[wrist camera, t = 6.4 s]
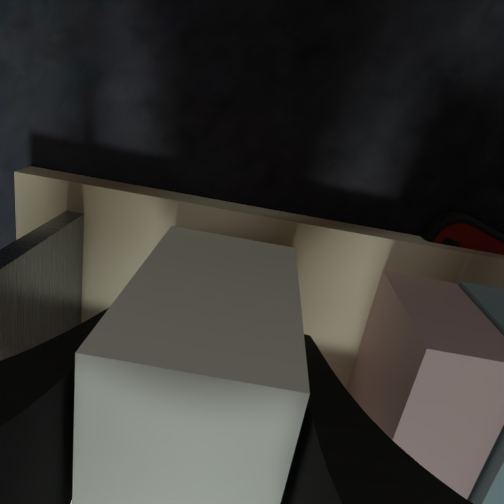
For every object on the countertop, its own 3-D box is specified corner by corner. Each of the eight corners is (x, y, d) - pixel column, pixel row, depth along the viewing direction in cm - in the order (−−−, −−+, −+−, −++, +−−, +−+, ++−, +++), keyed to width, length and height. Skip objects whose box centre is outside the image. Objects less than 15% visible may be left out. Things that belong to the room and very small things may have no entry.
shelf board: (545, 258, 15) (607, 298, 12) (474, 416, 18) (511, 479, 15) (30, 166, 15) (-27, 185, 12) (33, 338, 17) (-13, 387, 15)
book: (295, 247, 14) (310, 394, 7) (270, 361, 15) (264, 564, 9) (171, 225, 14) (75, 352, 7) (159, 342, 15) (71, 531, 9)
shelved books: (534, 294, 14) (656, 394, 10) (480, 412, 16) (562, 544, 12) (383, 267, 14) (434, 355, 10) (346, 388, 16) (373, 511, 12)
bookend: (84, 213, 14) (-10, 276, 10) (80, 341, 16) (0, 445, 11) (66, 210, 14) (-37, 271, 10) (64, 338, 16) (-23, 441, 11)
